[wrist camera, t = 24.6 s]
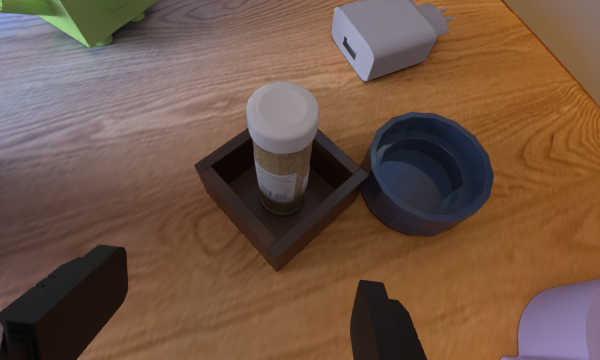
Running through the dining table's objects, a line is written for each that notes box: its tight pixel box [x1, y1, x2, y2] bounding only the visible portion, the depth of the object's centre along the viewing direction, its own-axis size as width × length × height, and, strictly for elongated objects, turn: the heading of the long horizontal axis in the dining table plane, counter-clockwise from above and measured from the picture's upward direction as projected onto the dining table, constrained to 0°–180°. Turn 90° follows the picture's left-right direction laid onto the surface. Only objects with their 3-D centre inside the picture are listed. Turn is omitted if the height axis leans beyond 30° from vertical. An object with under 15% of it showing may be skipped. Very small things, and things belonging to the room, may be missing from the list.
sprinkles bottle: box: [246, 82, 319, 216], centre depth 26 cm, size 5×5×14 cm
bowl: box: [361, 112, 494, 236], centre depth 32 cm, size 11×11×5 cm
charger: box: [331, 0, 453, 81], centre depth 41 cm, size 5×9×15 cm
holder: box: [194, 128, 369, 272], centre depth 30 cm, size 10×10×6 cm
